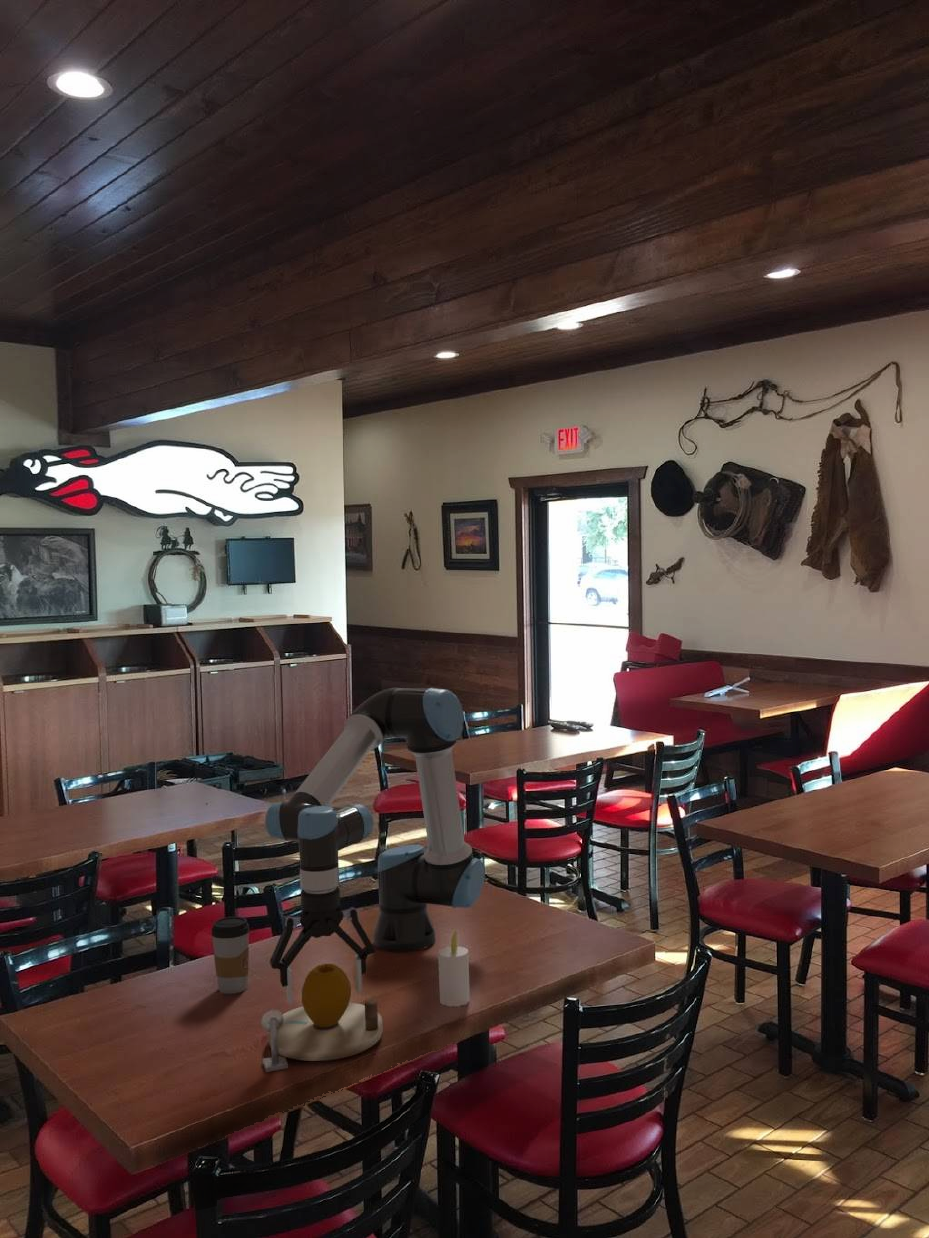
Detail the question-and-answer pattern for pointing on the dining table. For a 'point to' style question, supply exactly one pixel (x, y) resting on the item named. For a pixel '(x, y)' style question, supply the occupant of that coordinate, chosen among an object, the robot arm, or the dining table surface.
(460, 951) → the candle
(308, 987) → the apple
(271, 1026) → the indicator stand
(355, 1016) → the turntable
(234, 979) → the coffee cup
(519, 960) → the dining table surface
